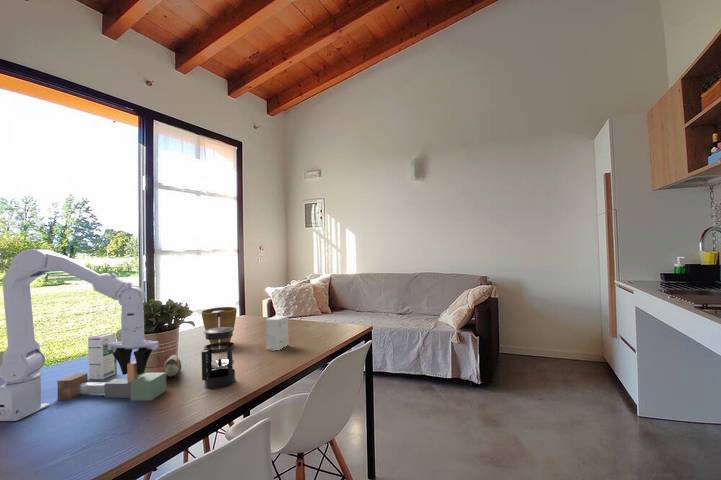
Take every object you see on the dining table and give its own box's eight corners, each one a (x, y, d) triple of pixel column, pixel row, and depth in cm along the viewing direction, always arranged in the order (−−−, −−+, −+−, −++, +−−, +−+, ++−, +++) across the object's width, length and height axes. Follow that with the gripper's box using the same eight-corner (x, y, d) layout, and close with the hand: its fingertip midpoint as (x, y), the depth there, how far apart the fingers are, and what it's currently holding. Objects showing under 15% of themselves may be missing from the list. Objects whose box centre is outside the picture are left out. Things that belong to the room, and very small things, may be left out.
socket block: (130, 400, 102) (130, 381, 103) (147, 390, 109) (147, 372, 110) (150, 400, 102) (150, 380, 102) (166, 390, 109) (165, 372, 109)
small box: (276, 345, 159) (275, 315, 159) (289, 345, 156) (288, 315, 157) (265, 350, 151) (265, 318, 151) (278, 351, 149) (277, 319, 149)
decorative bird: (182, 368, 131) (182, 347, 131) (180, 382, 116) (180, 359, 116) (166, 370, 129) (165, 349, 129) (161, 385, 114) (161, 361, 114)
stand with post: (104, 397, 105) (104, 365, 105) (115, 392, 109) (114, 360, 109) (146, 397, 104) (146, 364, 104) (155, 392, 108) (155, 360, 108)
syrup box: (102, 379, 120) (102, 336, 121) (87, 379, 122) (87, 336, 122) (117, 373, 126) (116, 332, 126) (103, 373, 127) (102, 332, 128)
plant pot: (204, 343, 166) (203, 308, 166) (238, 339, 170) (237, 306, 171) (199, 351, 152) (199, 313, 152) (237, 347, 156) (236, 310, 156)
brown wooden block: (57, 399, 105) (57, 380, 105) (75, 391, 111) (75, 373, 111) (70, 399, 104) (70, 380, 105) (87, 391, 110) (87, 373, 111)
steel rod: (75, 393, 106) (75, 385, 106) (82, 390, 109) (82, 382, 109) (117, 393, 105) (117, 385, 105) (123, 390, 108) (123, 382, 108)
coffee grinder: (221, 376, 121) (220, 307, 121) (243, 379, 117) (242, 308, 118) (192, 388, 110) (191, 313, 110) (216, 392, 106) (214, 314, 107)
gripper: (164, 324, 110) (165, 368, 110) (119, 324, 111) (120, 369, 111) (149, 329, 103) (150, 377, 103) (101, 330, 104) (102, 377, 104)
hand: (133, 373), depth 106 cm, fingers open, 4 cm apart
